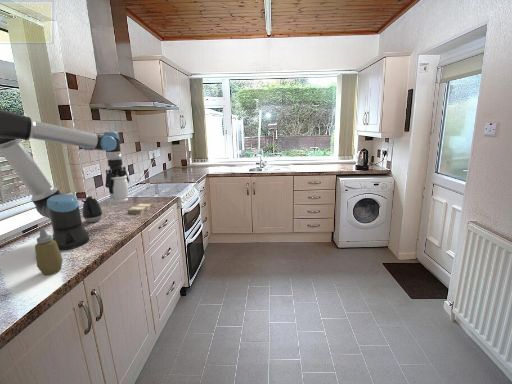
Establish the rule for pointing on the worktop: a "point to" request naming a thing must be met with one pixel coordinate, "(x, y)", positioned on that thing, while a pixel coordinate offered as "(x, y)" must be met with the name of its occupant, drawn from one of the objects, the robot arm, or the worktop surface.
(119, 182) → the white cup
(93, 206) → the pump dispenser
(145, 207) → the birch trivet
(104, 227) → the worktop surface
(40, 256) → the squeeze bottle
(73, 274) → the worktop surface
